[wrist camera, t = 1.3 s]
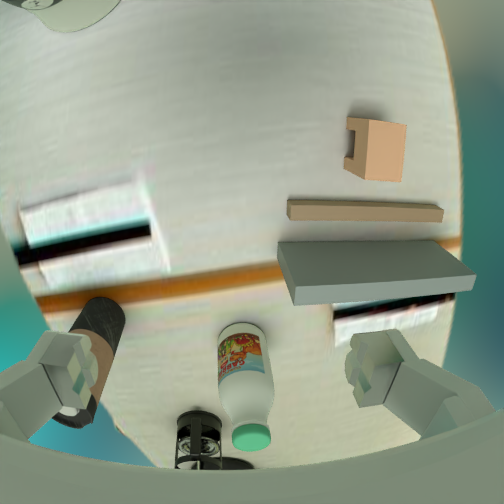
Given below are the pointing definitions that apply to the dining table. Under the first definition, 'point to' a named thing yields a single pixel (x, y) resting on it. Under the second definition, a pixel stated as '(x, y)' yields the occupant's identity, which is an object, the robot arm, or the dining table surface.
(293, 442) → the dining table surface
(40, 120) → the dining table surface
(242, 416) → the milk bottle
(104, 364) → the travel mug
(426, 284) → the cleat board
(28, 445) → the robot arm
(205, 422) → the french press
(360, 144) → the block
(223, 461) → the miniature padded chair
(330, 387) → the dining table surface
